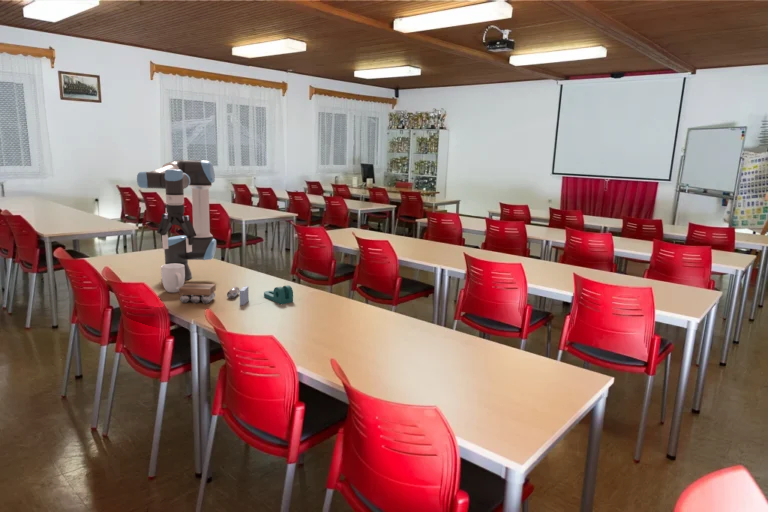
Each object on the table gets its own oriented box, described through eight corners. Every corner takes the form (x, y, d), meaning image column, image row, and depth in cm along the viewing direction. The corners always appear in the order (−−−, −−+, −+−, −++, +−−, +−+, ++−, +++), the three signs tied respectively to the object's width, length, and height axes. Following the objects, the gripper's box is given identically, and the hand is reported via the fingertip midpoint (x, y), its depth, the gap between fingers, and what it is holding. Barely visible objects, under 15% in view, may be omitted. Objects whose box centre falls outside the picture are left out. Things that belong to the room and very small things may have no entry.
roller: (231, 294, 257) (231, 286, 256) (239, 294, 257) (239, 286, 256) (227, 298, 249) (226, 290, 249) (235, 298, 249) (235, 291, 249)
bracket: (293, 302, 247) (293, 286, 246) (281, 305, 243) (281, 289, 241) (273, 294, 260) (273, 279, 259) (261, 296, 256) (261, 281, 254)
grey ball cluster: (186, 298, 247) (186, 290, 246) (215, 299, 247) (215, 291, 247) (180, 302, 239) (179, 294, 239) (210, 304, 239) (209, 295, 239)
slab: (186, 289, 247) (186, 283, 246) (215, 290, 247) (215, 284, 246) (179, 294, 238) (179, 288, 237) (209, 295, 238) (209, 289, 238)
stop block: (244, 300, 247) (244, 286, 246) (248, 300, 247) (248, 286, 246) (239, 305, 240) (239, 290, 238) (244, 305, 240) (243, 290, 238)
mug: (192, 293, 256) (191, 267, 253) (170, 296, 248) (169, 270, 246) (180, 286, 266) (179, 262, 264) (158, 290, 259) (157, 265, 256)
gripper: (147, 202, 230) (149, 249, 235) (191, 206, 222) (193, 254, 226) (159, 201, 237) (162, 246, 241) (203, 205, 229) (205, 251, 233)
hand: (177, 250), depth 234 cm, fingers open, 13 cm apart
